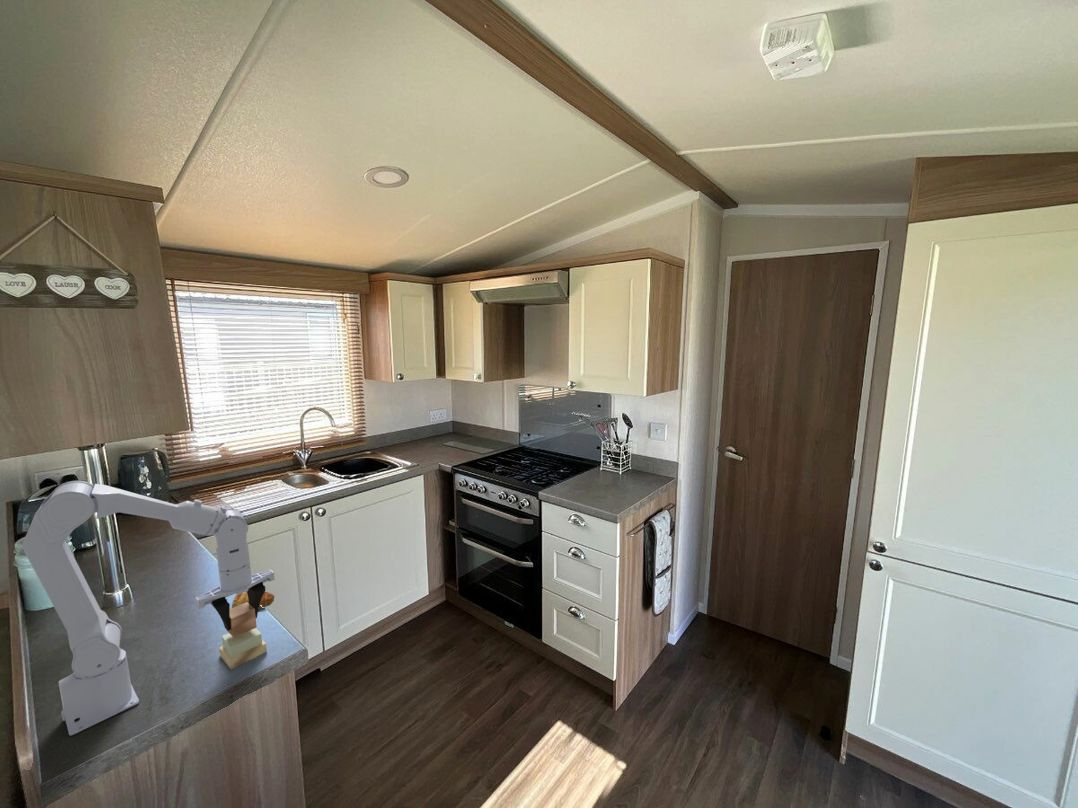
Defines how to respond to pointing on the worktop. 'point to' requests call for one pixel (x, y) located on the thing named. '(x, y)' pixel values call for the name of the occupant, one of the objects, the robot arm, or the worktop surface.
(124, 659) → the robot arm
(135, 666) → the worktop surface
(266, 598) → the pastry
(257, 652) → the oak slab
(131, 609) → the worktop surface
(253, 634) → the sage slab
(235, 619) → the terracotta cube
